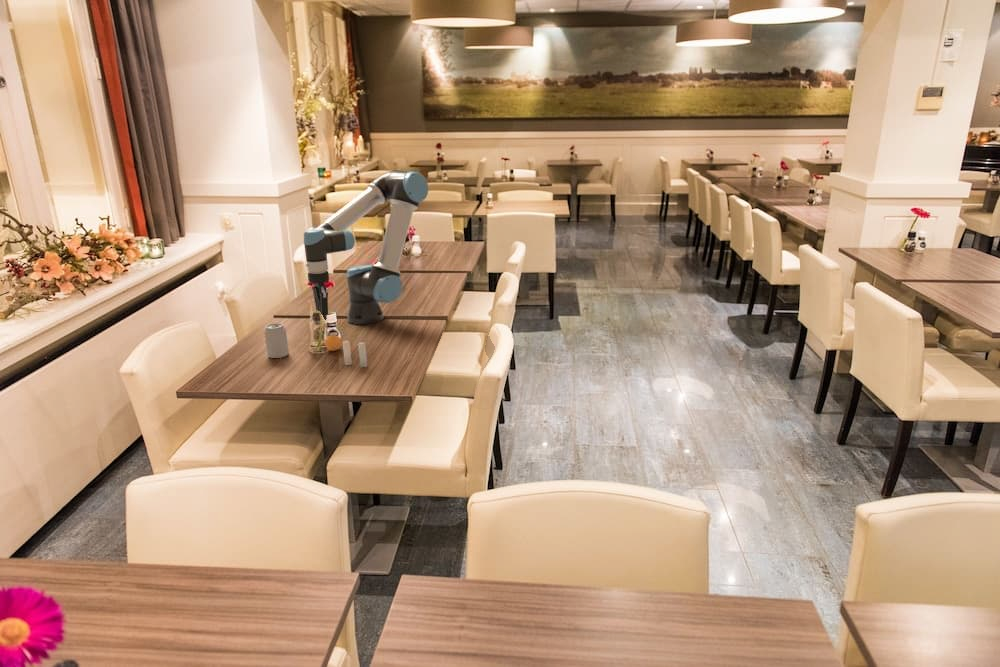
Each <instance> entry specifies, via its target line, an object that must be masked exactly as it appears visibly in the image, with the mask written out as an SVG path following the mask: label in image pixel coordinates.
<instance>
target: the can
mask: <svg viewBox="0 0 1000 667" xmlns="http://www.w3.org/2000/svg"><path fill="white" fill-rule="evenodd" d="M263 333H264V339H265V344H266V351H267V356H268V357H269V358H270V357H271V358H270V359H272V358H280V359H283V358H282V357H284V358H286V357H287V356H288V355H289V353H290V350H289V343H288V337H287V329H286V327H285V326H284V324H283V323H281V322H280V323H278V322H276V323H275V322H274V323H270V324H267V325H266V326H265V328H264V331H263ZM285 356H286V357H285Z"/></svg>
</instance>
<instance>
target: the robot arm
mask: <svg viewBox="0 0 1000 667" xmlns="http://www.w3.org/2000/svg"><path fill="white" fill-rule="evenodd" d="M366 188H367V189H365V190H364V191H362V192H361V193H360V194H359V195H357V196H356V197H355V198H354V199H352V200H351V201H350V202H348V203H347V204H345V205H344V206H343V207H341V209H339V210H338V211H337V212H336V213H334V214H333V215H332V216H330V217H329V218H328V219H326V220H325V221H324V222H322V223H321V224H320V225H319V226H313V227H310V228H308V229H307V230H305V231H304V232H303V245H304V251H305V252H304V253H305V260H306V263H305V265H304V266H305V267H306V269H307V279H308V283H310V284H313V286H312V287H311V289H312V292H313V299H314V305H315V311H316V310H318V311H320V312H321V314H322V315H323V317H324V319H325V320H326V319H327V320H328V317H327V316H328V315H329V302H328V300H329V292H328V291H327V287H326V286H325V283H328V282H329V281H330V276H329V271H328V270H329V265H328V264H329V263H328V256H327V255H328V254H333V253H340V252H346V251H349V250H352V249H353V248H354V247H355V245H356V244H355V240H356V238H355V237H354V234H353V232H351V231H350V230H347V229H349V228H350V227H352V226H353V225H354V224H356V222H358V221H360V219H362V218H364V216H365V215H367V214H368V213H370V211H372V210H373V209H375V208H376V207H377V206H378V205H384V204H385V203H386V202H387V201H390V202H391V205H392V206H391V210H390V214H389V217H388V222H387V225H386V227H385V228H386V229H385V233H384V235H383V239H382V244H381V247H380V251H379V255H378V259H377V262H376V263H374V264H365V265H358V266H353V267H350V268H348V269H347V270H346V280H347V287H348V288H347V289H348V297H349V298H348V299H349V305H348V306H349V307H348V311H347V317H346V318H347V322H348V323H349V322H350V323H349V324H352V323H353V324H354V325H370V323H371V324H375V323H378V322H381V321H382V320H384V311H383V309H382V307H381V304H380V303H385V304H390V303H392V302H395V301H396V300H397V299H398V298H399V297H400V296H401V294H402V292H403V283H402V279H401V278H400V276H401V271H400V269H399V266H400V262H401V258H402V254H403V250H404V246H405V243H406V239H407V235H408V231H409V228H410V224H411V220H412V217H413V214H414V211H416V210H418V208H419V205H420V203H421V202H423V201H424V200H426V199H427V196H428V195H429V194H428V193H429V184H428V181H427V179H426V177H425V176H424V175H423V174H421V173H420V172H416V171H413V170H408V171H407V170H397V169H396V170H395V169H393V170H390V171H387V172H384V173H383V174H381V175H380V176H378V177H377V178H376V179H374V180H372V181H371V182H370V183H369V184H367V186H366ZM314 284H315V286H314ZM353 324H352V325H353Z"/></svg>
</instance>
